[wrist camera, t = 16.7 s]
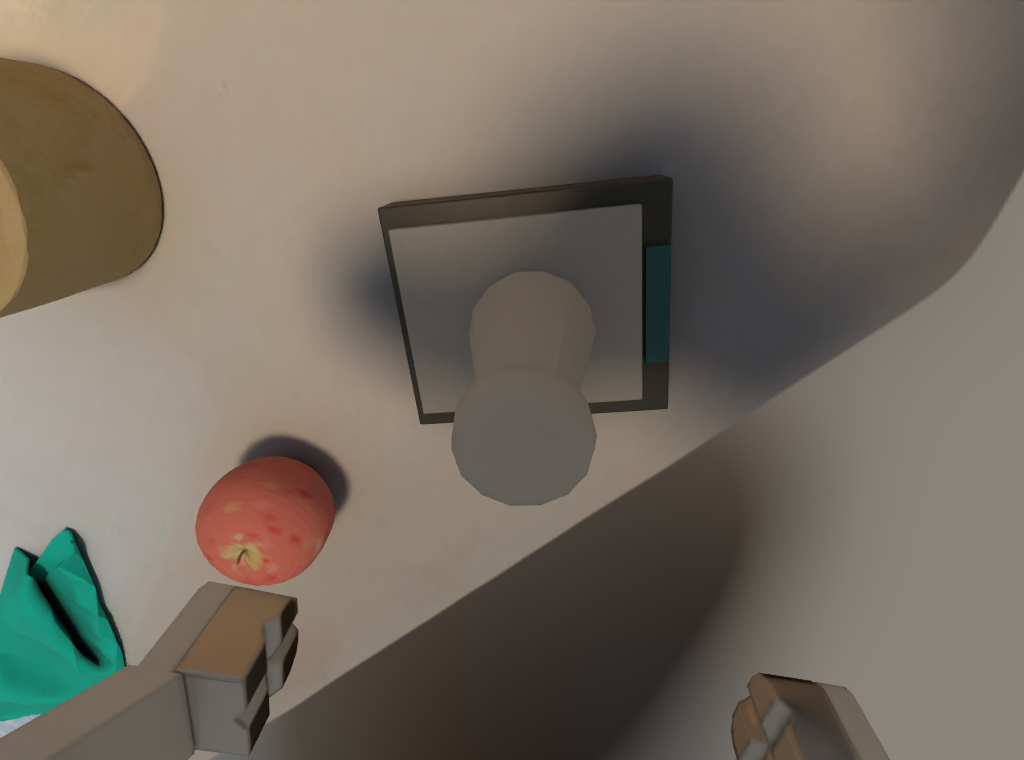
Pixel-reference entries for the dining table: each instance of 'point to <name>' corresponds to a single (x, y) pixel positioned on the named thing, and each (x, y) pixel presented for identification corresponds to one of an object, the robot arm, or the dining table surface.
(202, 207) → the dining table surface
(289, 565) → the apple
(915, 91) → the dining table surface
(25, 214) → the sugar bowl
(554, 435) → the salt shaker
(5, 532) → the dining table surface
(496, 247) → the scale
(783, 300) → the dining table surface
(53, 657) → the cloth
